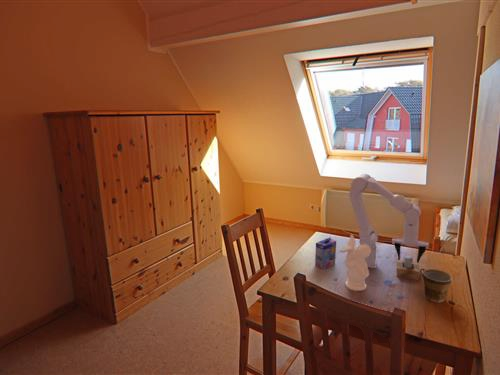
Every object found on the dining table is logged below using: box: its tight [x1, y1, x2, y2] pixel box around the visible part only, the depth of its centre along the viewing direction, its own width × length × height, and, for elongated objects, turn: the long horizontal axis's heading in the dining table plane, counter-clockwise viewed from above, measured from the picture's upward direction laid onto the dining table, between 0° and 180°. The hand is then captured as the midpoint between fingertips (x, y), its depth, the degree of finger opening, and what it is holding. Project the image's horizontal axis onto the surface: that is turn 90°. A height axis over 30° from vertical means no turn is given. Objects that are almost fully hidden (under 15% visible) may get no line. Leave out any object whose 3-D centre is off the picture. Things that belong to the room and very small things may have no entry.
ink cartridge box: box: [314, 237, 337, 270], centre depth 155 cm, size 10×6×14 cm, turn 129°
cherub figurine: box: [339, 233, 371, 292], centre depth 134 cm, size 12×12×22 cm
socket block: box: [396, 259, 421, 281], centre depth 145 cm, size 9×9×4 cm
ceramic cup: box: [420, 268, 453, 304], centre depth 127 cm, size 13×10×10 cm
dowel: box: [403, 255, 414, 268], centre depth 144 cm, size 3×3×8 cm
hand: (408, 260), depth 144 cm, fingers open, 7 cm apart
